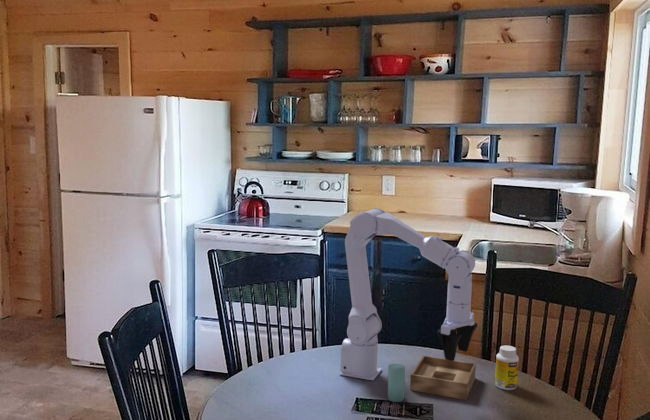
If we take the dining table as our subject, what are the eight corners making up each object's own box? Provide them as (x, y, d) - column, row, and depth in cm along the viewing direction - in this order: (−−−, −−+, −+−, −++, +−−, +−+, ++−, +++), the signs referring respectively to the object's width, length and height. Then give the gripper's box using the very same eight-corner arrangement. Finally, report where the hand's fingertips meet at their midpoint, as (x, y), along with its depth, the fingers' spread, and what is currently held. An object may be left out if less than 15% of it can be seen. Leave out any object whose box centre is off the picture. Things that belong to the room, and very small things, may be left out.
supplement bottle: (507, 392, 148) (509, 353, 146) (489, 384, 152) (491, 346, 151) (521, 387, 151) (524, 349, 150) (504, 380, 155) (506, 342, 154)
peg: (385, 400, 143) (386, 368, 142) (390, 393, 147) (391, 362, 146) (401, 403, 142) (402, 371, 140) (405, 396, 145) (406, 365, 144)
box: (410, 389, 149) (410, 374, 148) (422, 369, 162) (423, 355, 161) (466, 399, 144) (467, 384, 143) (475, 378, 156) (475, 363, 156)
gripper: (461, 311, 136) (458, 368, 138) (486, 298, 148) (483, 350, 150) (433, 305, 140) (431, 360, 142) (459, 293, 152) (457, 343, 154)
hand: (456, 355), depth 146 cm, fingers open, 7 cm apart
